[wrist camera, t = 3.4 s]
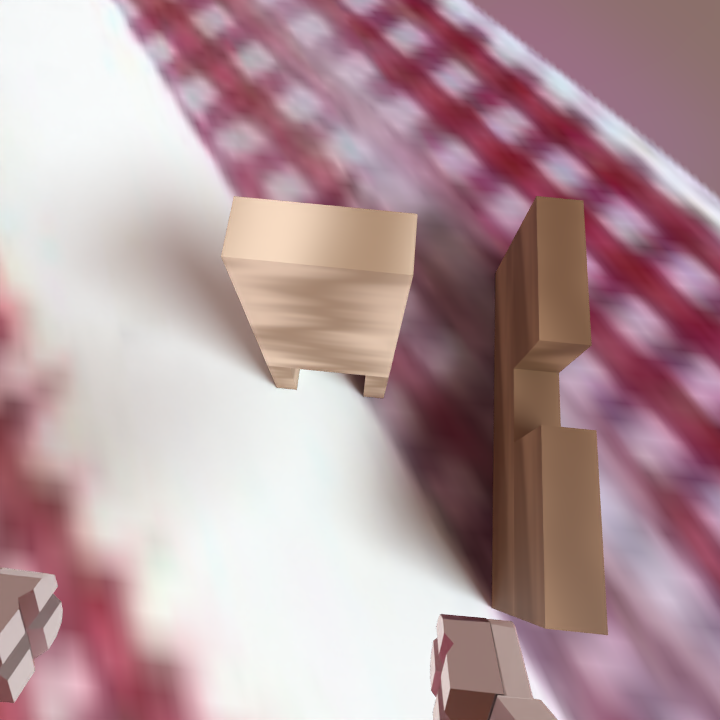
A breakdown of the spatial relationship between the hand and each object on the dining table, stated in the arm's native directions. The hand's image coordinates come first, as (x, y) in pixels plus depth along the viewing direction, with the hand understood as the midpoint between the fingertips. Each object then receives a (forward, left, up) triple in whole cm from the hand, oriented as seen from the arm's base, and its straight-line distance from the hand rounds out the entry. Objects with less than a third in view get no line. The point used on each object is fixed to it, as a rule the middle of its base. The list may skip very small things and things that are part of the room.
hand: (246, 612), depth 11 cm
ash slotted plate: (0, +11, -18) cm, 21 cm away
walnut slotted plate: (+11, +9, -18) cm, 23 cm away
